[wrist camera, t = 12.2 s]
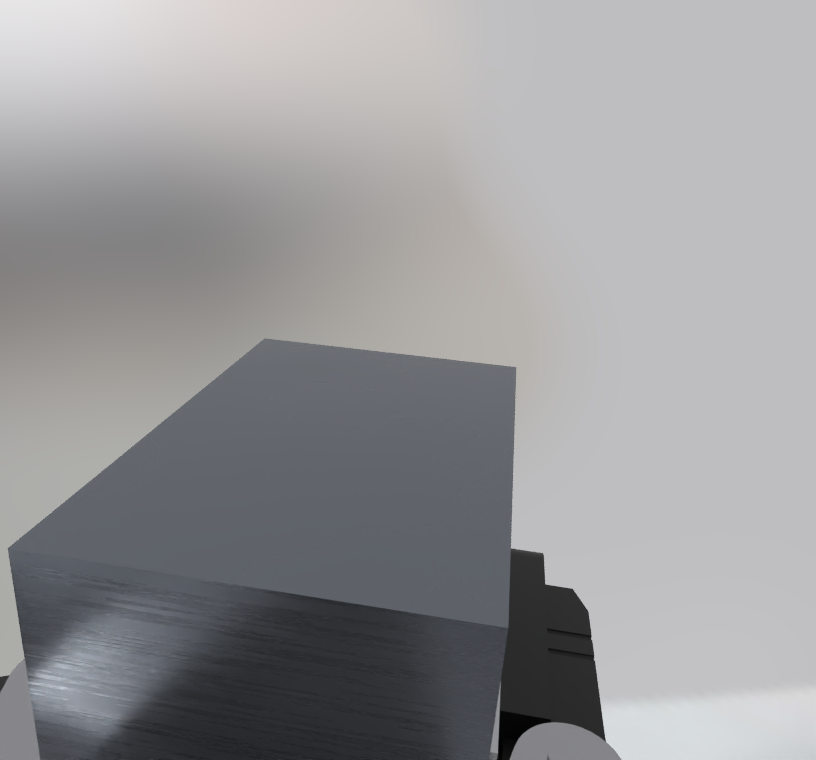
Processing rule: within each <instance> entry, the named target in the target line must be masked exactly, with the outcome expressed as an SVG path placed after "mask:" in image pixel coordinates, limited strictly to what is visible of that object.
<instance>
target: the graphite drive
mask: <svg viewBox="0 0 816 760" xmlns="http://www.w3.org/2000/svg"><path fill="white" fill-rule="evenodd" d="M515 388H516V367H508V366H500V365H491V364H482V363H474V362H465V361H456V360H447V359H439V358H430V357H421V356H413V355H404V354H395V353H385V352H378V351H368V350H360V349H351V348H343V347H334V346H325V345H315V344H307V343H299V342H290V341H281V340H272V339H264V340H262V341H261V342H260V343H259V344H258V345H256V346H255V347H254V348H253V349H251V350H250V351H249V352H248V353H247V354H245V355H244V356H243V357H242V358H241V359H239V360H238V361H237V362H235V363H234V364H233V365H232V366H231V367H229V368H228V369H227V370H226V371H225V372H223V373H222V374H221V375H220V376H218V377H217V378H216V379H215V380H214V381H212V382H211V383H210V384H209V385H207V386H206V387H205V388H204V389H203V390H201V391H200V392H199V393H198V394H196V395H195V396H194V397H193V398H192V399H190V400H189V401H188V402H187V403H185V404H184V405H183V406H182V407H181V408H179V409H178V410H177V411H176V412H174V413H173V414H172V415H171V416H169V417H168V418H167V419H166V420H165V421H163V422H162V423H161V424H160V425H158V426H157V427H156V428H155V429H154V430H152V431H151V432H150V433H149V434H147V435H146V436H145V437H144V438H142V439H141V440H140V441H139V442H138V443H136V444H135V445H134V446H133V447H131V448H130V449H129V450H128V451H127V452H125V453H124V454H123V455H122V456H120V457H119V458H118V459H117V460H116V461H114V462H113V463H112V464H111V465H109V466H108V467H107V468H106V469H104V470H103V471H102V472H101V473H100V474H98V475H97V476H96V477H95V478H93V479H92V480H91V481H90V482H89V483H87V484H86V485H85V486H84V487H82V488H81V489H80V490H79V491H78V492H76V493H75V494H74V495H73V496H71V497H70V498H69V499H68V500H67V501H65V502H64V503H63V504H62V505H60V506H59V507H58V508H57V509H55V510H54V511H53V512H52V513H51V514H49V515H48V516H47V517H46V518H45V519H43V520H42V521H41V522H40V523H38V524H37V525H36V526H35V527H34V528H32V529H31V530H30V531H29V532H27V533H26V534H25V535H24V536H22V537H21V538H20V539H19V540H18V541H16V542H15V543H14V544H13V545H12V546H10V547H9V548H8V552H9V559H10V566H11V572H12V579H13V585H14V591H15V598H16V605H17V611H18V618H19V624H20V631H21V637H22V644H23V650H24V657H25V663H26V670H27V676H28V683H29V690H30V696H31V703H32V709H33V716H34V722H35V729H36V735H37V742H38V748H39V755H40V760H497V756H498V738H499V713H500V688H501V675H502V668H503V661H504V654H505V648H506V641H507V634H508V623H509V589H510V555H511V521H512V488H513V454H514V421H515Z"/></svg>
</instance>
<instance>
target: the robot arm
mask: <svg viewBox="0 0 816 760" xmlns="http://www.w3.org/2000/svg"><path fill="white" fill-rule="evenodd" d="M0 760H40V755H39V748H38V742H37V735H36V729H35V722H34V716H33V709H32V703H31V696H30V690H29V683H28V676H27V670H26V663H25V659H24V660H23V661H21V663H19V664H18V665H17V666H16V668H15V669H14V670H13V671H12V673H11V674H10V675H9V676H3V677H0ZM497 760H621V758H620V757H619V756H618V754H617V753H616V752H615V750H614V749H613V748H612V747H611V746H610V745H609V744H608V743H606V740H605V734H604V727H603V719H602V712H601V704H600V697H599V689H598V681H597V674H596V666H595V661H594V651H593V644H592V640H591V629H590V621H589V613H588V610H587V609H586V608H585V606H584V605H583V603H582V602H581V600H580V599H579V597H578V596H577V595H576V593H575V592H574V590H573V589H569V588H563V587H557V586H550V585H545V573H544V555H543V553H536V552H530V551H524V550H516V549H511V555H510V589H509V623H508V634H507V641H506V648H505V654H504V661H503V668H502V675H501V688H500V713H499V738H498V756H497Z"/></svg>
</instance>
